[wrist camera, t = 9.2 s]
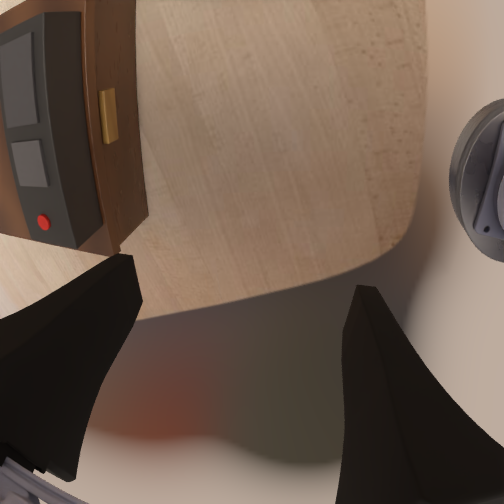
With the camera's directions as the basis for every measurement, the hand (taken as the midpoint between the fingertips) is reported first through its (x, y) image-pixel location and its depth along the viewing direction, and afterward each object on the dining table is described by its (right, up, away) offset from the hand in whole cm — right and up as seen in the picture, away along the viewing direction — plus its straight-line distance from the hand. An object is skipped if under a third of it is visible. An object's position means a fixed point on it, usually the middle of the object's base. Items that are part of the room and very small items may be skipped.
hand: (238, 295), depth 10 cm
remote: (-10, +8, +4) cm, 13 cm away
